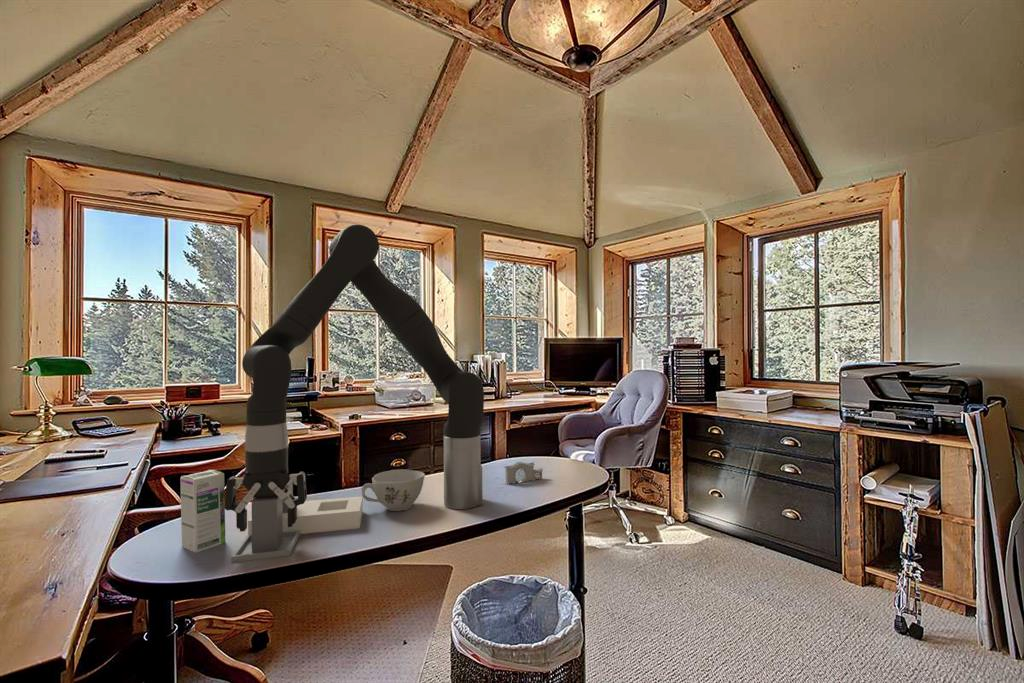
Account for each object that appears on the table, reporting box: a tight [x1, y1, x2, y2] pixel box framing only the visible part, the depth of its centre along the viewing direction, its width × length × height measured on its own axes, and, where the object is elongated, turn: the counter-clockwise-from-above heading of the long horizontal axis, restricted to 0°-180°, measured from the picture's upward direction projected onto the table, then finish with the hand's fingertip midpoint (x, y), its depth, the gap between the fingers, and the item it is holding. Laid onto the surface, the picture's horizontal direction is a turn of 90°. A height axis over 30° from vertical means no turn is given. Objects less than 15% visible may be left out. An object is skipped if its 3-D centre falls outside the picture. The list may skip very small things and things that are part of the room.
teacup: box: [361, 468, 426, 512], centre depth 116 cm, size 15×12×8 cm
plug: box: [251, 494, 283, 553], centre depth 94 cm, size 4×4×12 cm
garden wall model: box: [504, 461, 544, 485], centre depth 138 cm, size 12×2×6 cm, turn 117°
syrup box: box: [180, 469, 226, 554], centre depth 95 cm, size 6×6×14 cm
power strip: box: [247, 480, 364, 535], centre depth 105 cm, size 22×10×12 cm, turn 104°
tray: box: [230, 530, 301, 563], centre depth 94 cm, size 10×10×1 cm
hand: (267, 527), depth 94 cm, fingers open, 8 cm apart
